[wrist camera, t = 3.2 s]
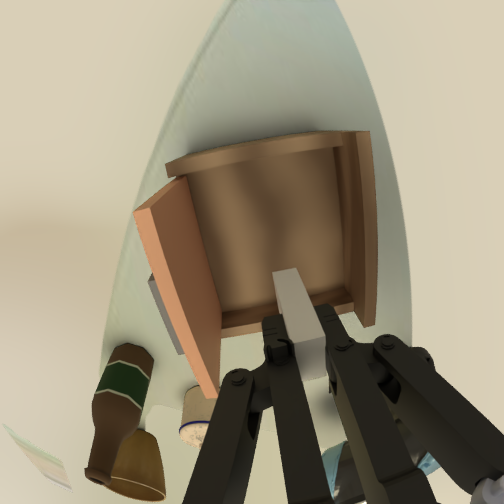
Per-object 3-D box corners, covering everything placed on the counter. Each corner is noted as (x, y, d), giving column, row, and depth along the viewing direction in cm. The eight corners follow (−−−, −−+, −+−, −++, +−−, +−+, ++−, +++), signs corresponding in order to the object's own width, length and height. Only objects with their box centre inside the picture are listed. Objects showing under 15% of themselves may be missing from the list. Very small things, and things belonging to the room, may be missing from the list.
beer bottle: (148, 341, 42) (110, 475, 20) (160, 374, 46) (136, 497, 23) (107, 341, 42) (56, 460, 20) (121, 373, 45) (86, 485, 23)
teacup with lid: (179, 405, 49) (173, 454, 39) (189, 378, 46) (182, 432, 35) (237, 417, 52) (239, 465, 41) (253, 392, 48) (258, 445, 38)
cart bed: (318, 130, 32) (369, 131, 19) (333, 264, 39) (374, 324, 26) (181, 156, 32) (147, 170, 19) (215, 288, 39) (208, 359, 26)
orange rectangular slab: (186, 175, 25) (149, 207, 14) (222, 311, 31) (218, 397, 20) (167, 179, 25) (119, 215, 14) (206, 313, 31) (196, 399, 20)
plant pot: (179, 451, 57) (174, 504, 43) (126, 447, 57) (116, 496, 42) (161, 421, 52) (152, 484, 37) (102, 416, 51) (85, 471, 36)
